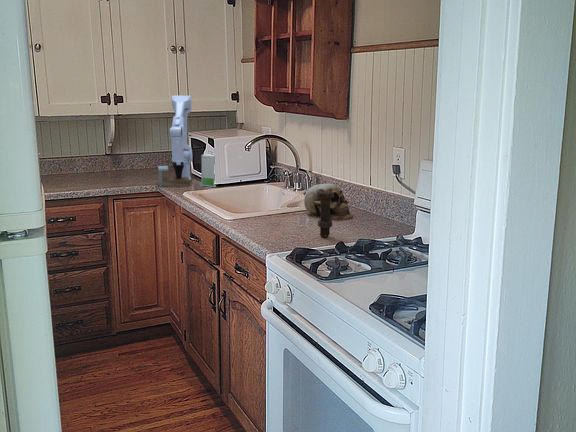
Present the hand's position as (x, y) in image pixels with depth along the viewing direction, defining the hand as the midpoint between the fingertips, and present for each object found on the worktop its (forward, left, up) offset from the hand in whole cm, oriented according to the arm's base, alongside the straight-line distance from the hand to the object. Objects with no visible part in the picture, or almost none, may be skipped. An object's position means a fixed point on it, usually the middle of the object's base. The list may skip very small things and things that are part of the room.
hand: (178, 177), depth 301 cm
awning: (0, -7, -4) cm, 8 cm away
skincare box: (+7, +16, -4) cm, 18 cm away
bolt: (+119, +43, -4) cm, 127 cm away
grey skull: (+87, +54, -4) cm, 102 cm away
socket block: (0, -2, -4) cm, 4 cm away
